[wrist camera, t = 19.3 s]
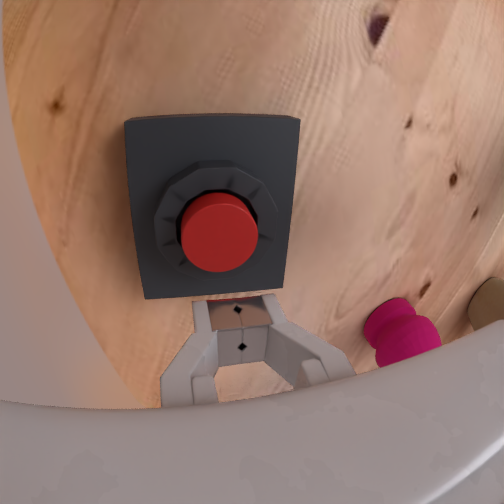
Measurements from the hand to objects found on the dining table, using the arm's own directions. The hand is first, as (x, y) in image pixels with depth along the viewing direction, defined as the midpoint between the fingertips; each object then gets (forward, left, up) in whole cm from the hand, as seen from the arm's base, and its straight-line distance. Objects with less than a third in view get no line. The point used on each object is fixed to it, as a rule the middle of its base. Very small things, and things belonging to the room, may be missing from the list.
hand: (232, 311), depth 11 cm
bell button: (0, 0, -7) cm, 7 cm away
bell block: (0, 0, -11) cm, 11 cm away
